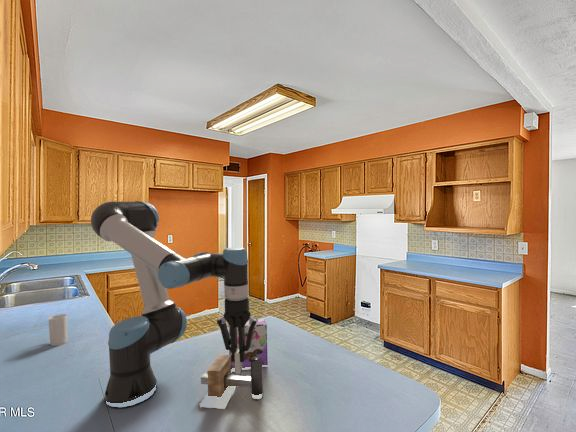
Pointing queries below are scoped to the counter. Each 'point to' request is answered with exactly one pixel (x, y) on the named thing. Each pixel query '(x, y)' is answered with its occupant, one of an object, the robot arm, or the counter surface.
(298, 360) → the counter surface
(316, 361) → the counter surface
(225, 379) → the hook rod
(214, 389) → the eye block
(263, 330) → the candy box
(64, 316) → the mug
